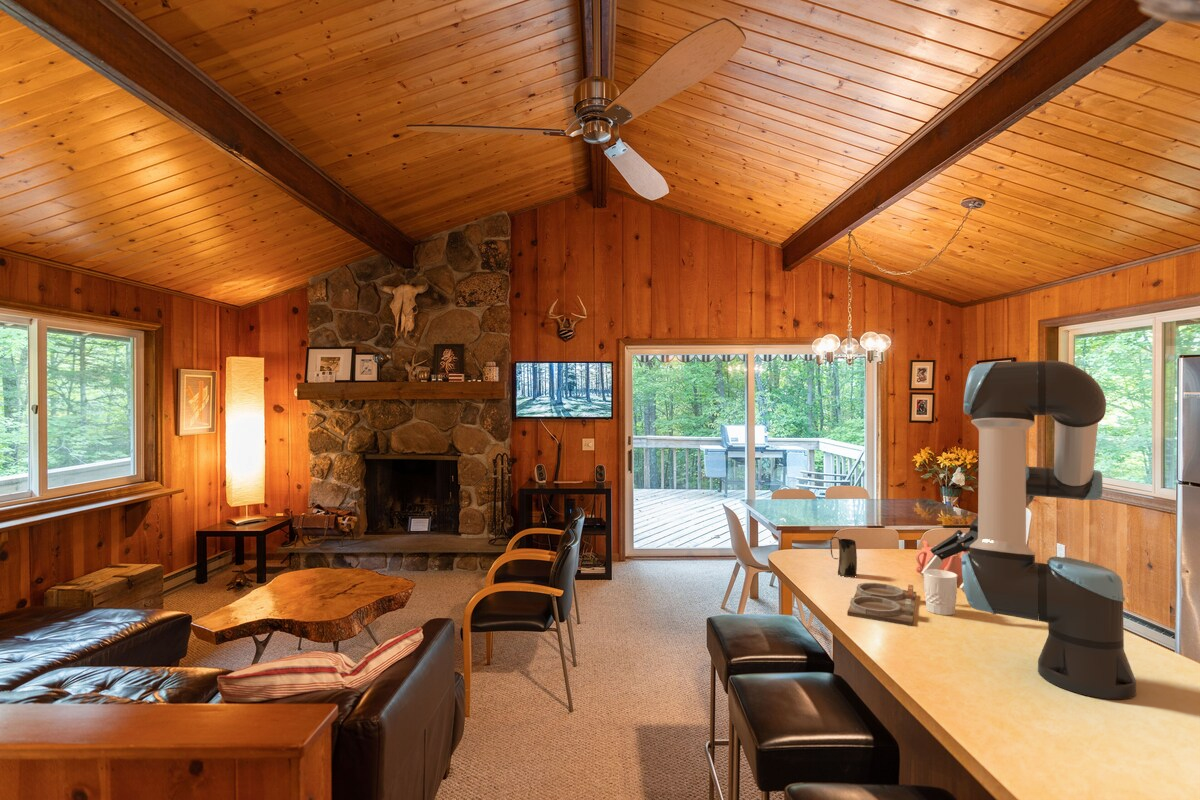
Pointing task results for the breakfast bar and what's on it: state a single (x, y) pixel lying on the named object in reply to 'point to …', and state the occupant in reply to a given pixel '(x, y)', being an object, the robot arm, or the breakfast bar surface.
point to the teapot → (948, 564)
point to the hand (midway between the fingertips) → (943, 583)
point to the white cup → (940, 591)
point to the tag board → (883, 603)
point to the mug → (846, 557)
